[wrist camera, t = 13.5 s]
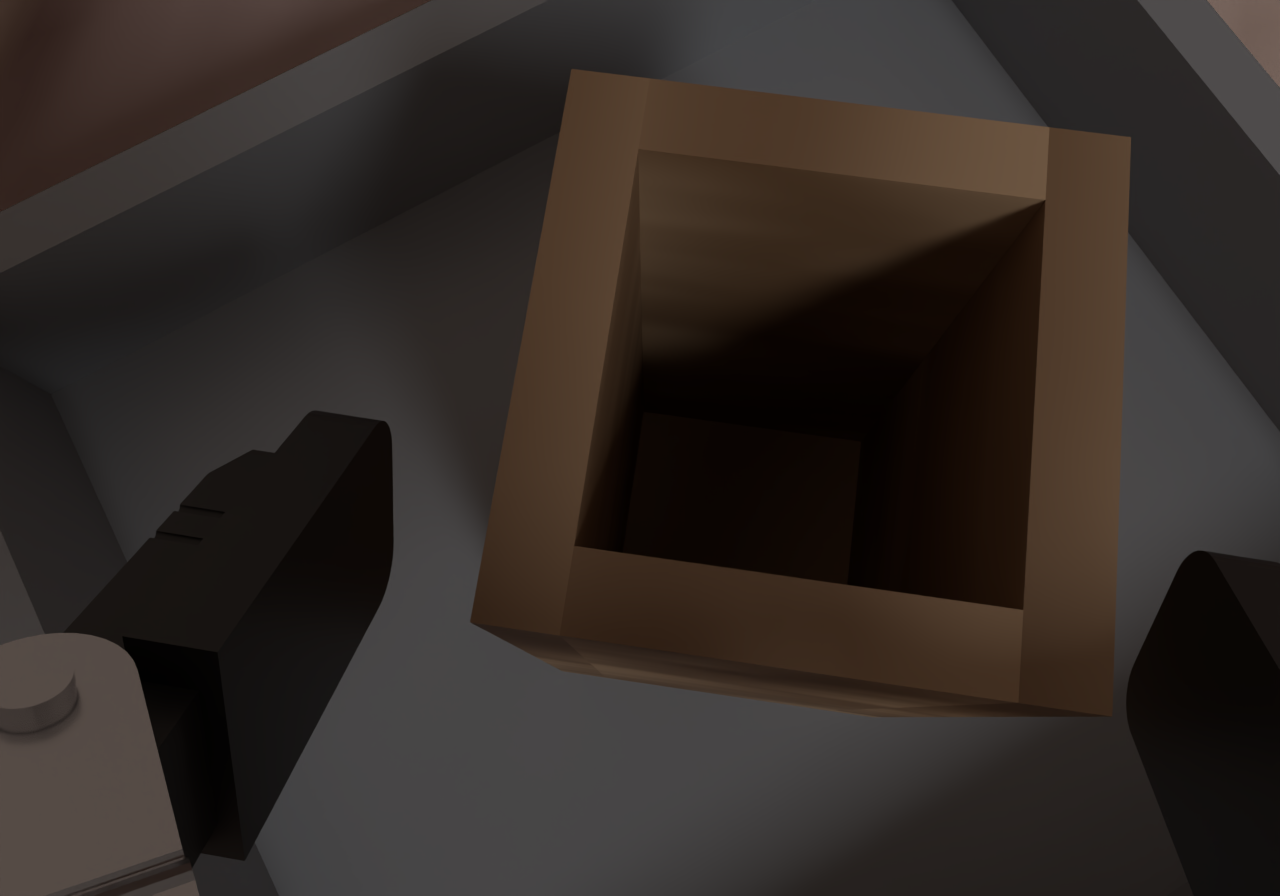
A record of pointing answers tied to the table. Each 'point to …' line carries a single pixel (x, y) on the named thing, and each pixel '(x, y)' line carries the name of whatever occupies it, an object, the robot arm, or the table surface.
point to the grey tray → (477, 415)
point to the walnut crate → (818, 406)
